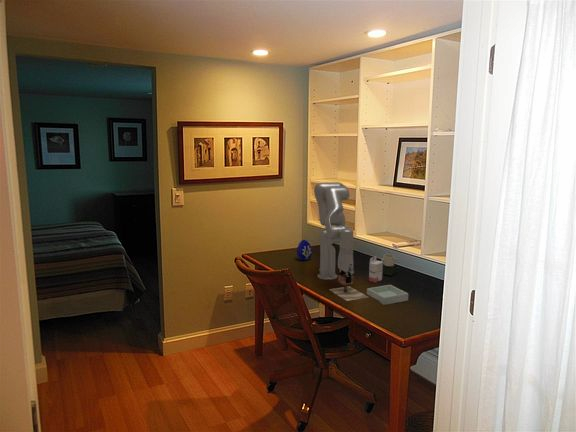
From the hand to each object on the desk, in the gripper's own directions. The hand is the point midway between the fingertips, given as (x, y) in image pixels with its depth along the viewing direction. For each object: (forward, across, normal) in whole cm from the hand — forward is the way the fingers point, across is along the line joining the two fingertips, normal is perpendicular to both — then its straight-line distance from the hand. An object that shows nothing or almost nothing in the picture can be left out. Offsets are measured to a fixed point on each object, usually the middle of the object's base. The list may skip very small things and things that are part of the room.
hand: (345, 280), depth 256 cm
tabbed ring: (+1, 0, +1) cm, 2 cm away
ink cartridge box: (+8, -12, +29) cm, 32 cm away
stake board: (+7, +4, 0) cm, 8 cm away
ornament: (+8, -72, +9) cm, 73 cm away
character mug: (+8, -18, +43) cm, 47 cm away
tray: (+7, +16, +17) cm, 25 cm away
